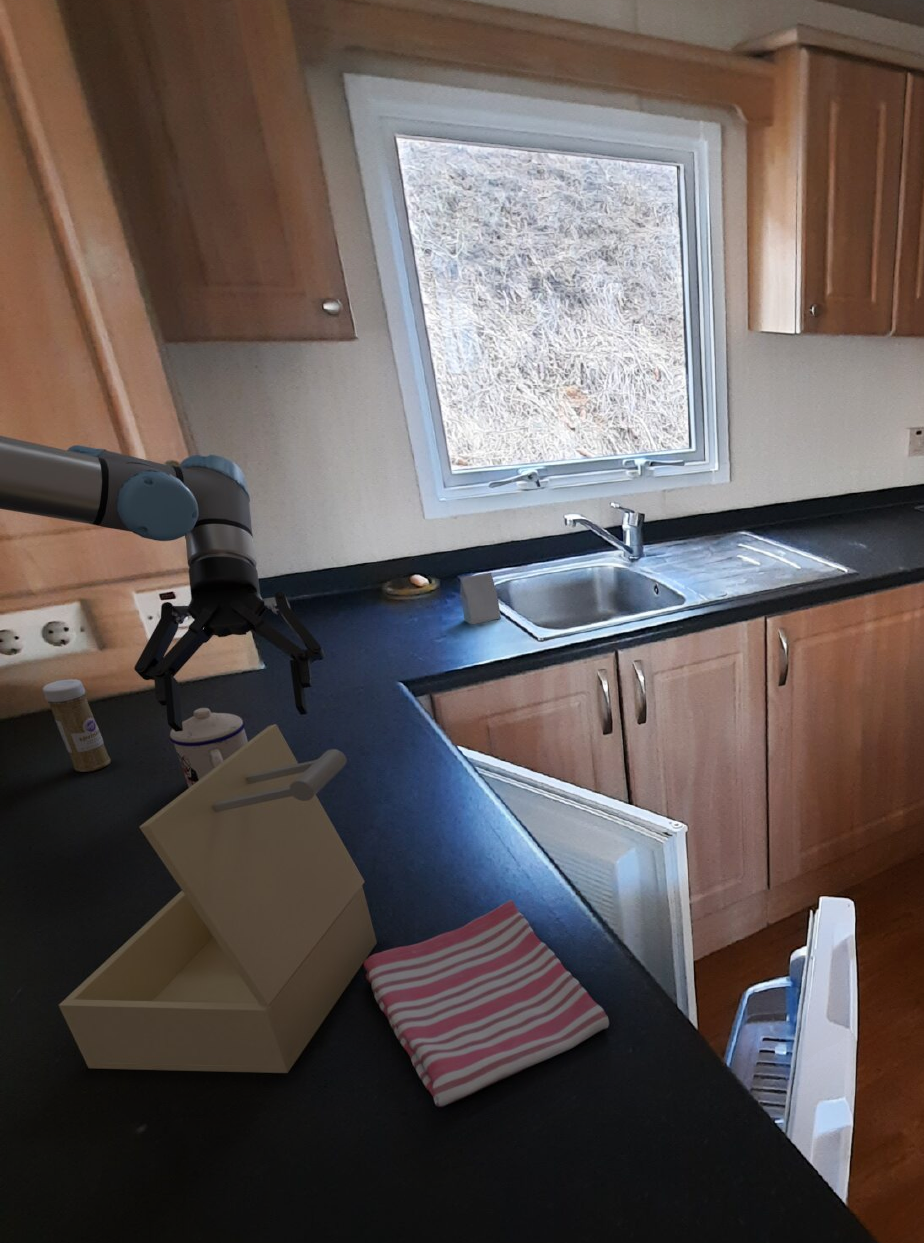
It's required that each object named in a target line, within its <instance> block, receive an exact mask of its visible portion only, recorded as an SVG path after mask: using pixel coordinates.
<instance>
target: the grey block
mask: <svg viewBox="0 0 924 1243" xmlns="http://www.w3.org/2000/svg"><path fill="white" fill-rule="evenodd" d="M459 579H460V586H459V587H460V590H459V592H460V593H459V594H460V596H459V597H460V602H461V607H462V608H461V609H462V614H463V619H464V622H465V623H468V624H469V625H477V624H481V623H486V622H491V621H495V620H496V621H497V620H500V619H501V618H502V616H501V610H500V602H499V596H498V591H497V588H496V585H495V581H494V578H493V575H492V572H487V573H486V572H485V573H480V574H475V575H469V576H463V577H460V578H459Z"/></svg>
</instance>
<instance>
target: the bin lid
mask: <svg viewBox="0 0 924 1243" xmlns="http://www.w3.org/2000/svg"><path fill="white" fill-rule="evenodd" d="M347 761H348V760H347V757H346V755H345V753H344V752H342V751H340V750H339V749H335V748H330V749H327V750H326V751H325V752H324V753H322V755H320V757H318V758H317V759H313V760H309V761H305V762H300V763H298V760H297V758H296V757H295V755H294V753H293V751H292V750H291V748H290V746H289V744H288V742H287V741H286V739H285V737H284V735H283V734H282V732H281V730H280V728H279V727H278V725H277V724H275V723H273V724H270V725H268V726H266V728H264V729H263V730H262V731H260V732H259V733H257V734H256V735H255V736H254V737H252V738H251V739H250V740H248V743H246V744H245V745H244V746H242V747H241V748H240V749H239V750H237V751H236V752H235V753H233V754H232V755H231V756H230V757H228V758H227V759H226V760H224V761H223V762H222V763H221V764H219V765H218V766H217V767H215V768H214V769H213V770H212V771H210V772H209V773H208V774H206V775H205V776H204V777H203V778H201V779H200V780H199V781H197V782H196V783H195V784H194V785H192V786H191V787H190V788H189V787H188V788H187V789H186V790H185V791H184V792H182V793H181V794H179V795H178V796H177V797H175V798H174V799H173V800H172V801H170V802H169V803H168V804H166V805H165V806H164V807H162V808H161V809H160V810H159V811H157V812H156V813H155V814H154V815H152V816H151V817H150V818H149V819H147V820H146V821H145V822H143V823H142V824H141V825H140V826H139V829H140V831H141V832H142V834H143V835H144V836H145V839H147V841H148V843H149V844H150V845H151V848H153V850H154V851H155V853H156V854H157V856H158V858H159V859H160V860H161V862H162V863H163V864H164V867H165V868H166V869H167V871H168V872H169V873H170V875H171V877H172V878H173V879H174V881H175V882H176V884H177V885H178V887H179V888H180V890H181V891H183V892H184V894H185V895H186V897H187V898H188V900H189V901H190V903H191V904H192V906H193V907H194V909H195V910H196V912H197V913H198V914H199V916H200V917H201V919H202V920H203V922H204V923H205V925H206V926H207V928H208V929H209V931H210V932H211V934H212V935H213V937H214V938H215V940H216V941H217V942H218V944H219V945H220V947H221V948H222V950H223V951H224V953H225V954H226V956H227V957H228V959H229V960H230V962H231V963H232V965H233V966H234V967H235V969H236V970H237V972H238V973H239V975H240V976H241V978H242V979H243V981H244V982H245V984H246V985H247V987H248V988H249V990H250V991H251V993H252V994H253V995H254V997H255V998H256V1000H257V1001H258V1003H259V1004H260V1006H261V1007H262V1006H268V1005H269V1004H270V1003H271V1002H272V1000H273V999H274V998H275V997H276V995H277V994H278V993H279V991H280V990H281V989H282V988H283V986H284V985H285V984H286V982H287V981H288V980H289V979H290V977H291V976H292V975H293V973H294V972H295V971H296V970H297V968H298V967H299V966H300V964H301V963H302V962H303V961H304V959H305V958H306V957H307V955H308V954H309V953H310V952H311V950H312V949H313V948H314V946H315V945H316V944H317V943H318V941H319V940H320V939H321V937H322V936H323V935H324V934H325V932H326V931H327V930H328V929H329V927H330V926H331V925H332V923H333V922H334V921H335V920H336V918H337V917H338V916H339V914H340V913H341V912H342V911H343V909H344V908H345V907H346V905H347V904H348V903H349V902H350V900H351V899H352V898H353V896H354V895H355V894H356V893H357V891H358V890H359V889H360V887H361V886H362V887H363V885H364V883H365V880H364V878H363V876H362V874H361V873H360V871H359V868H358V867H357V865H356V864H355V862H354V860H353V858H352V857H351V855H350V852H349V851H348V849H347V848H346V846H345V844H344V842H343V841H342V838H341V837H340V835H339V833H338V832H337V830H336V828H335V826H334V825H333V822H332V821H331V819H330V817H329V815H328V814H327V812H326V811H325V808H324V807H323V805H322V804H321V801H320V800H319V798H318V796H317V794H318V793H319V792H320V791H321V790H322V789H323V788H324V787H325V786H326V785H327V784H328V783H329V782H330V781H331V780H332V779H333V778H334V777H335V776H336V775H337V774H338V773H339V772H340V771H342V769H343V768H344V767H346V764H347Z"/></svg>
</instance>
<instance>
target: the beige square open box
mask: <svg viewBox="0 0 924 1243" xmlns="http://www.w3.org/2000/svg"><path fill="white" fill-rule="evenodd" d="M368 906H369V905H368V902H367V899H366V894H365V890H364V886H363V885H362V886H361V887H360V889H359V890H358V891H357V893H356V894H355V895H354V896H353V898H352V899H351V900H350V902H349V903H348V904H347V905H346V907H345V908H344V909H343V911H342V912H341V913H340V914H339V916H338V917H337V918H336V920H335V921H334V922H333V923H332V925H331V926H330V927H329V929H328V930H327V931H326V932H325V934H324V935H323V936H322V937H321V939H320V940H319V941H318V943H317V944H316V945H315V946H314V948H313V949H312V950H311V952H310V953H309V954H308V955H307V957H306V958H305V959H304V961H303V962H302V963H301V964H300V966H299V967H298V968H297V970H296V971H295V972H294V973H293V975H292V976H291V977H290V979H289V980H288V981H287V982H286V984H285V985H284V986H283V988H282V989H281V990H280V991H279V993H278V994H277V995H276V997H275V998H274V999H273V1000H272V1002H271V1003H270V1004H269V1005H268V1006H262V1007H261V1006H260V1004H259V1003H258V1001H257V1000H256V998H255V997H254V995H253V994H252V993H251V991H250V990H249V988H248V987H247V985H246V984H245V982H244V981H243V979H242V978H241V976H240V975H239V973H238V972H237V970H236V969H235V967H234V966H233V965H232V963H231V962H230V960H229V959H228V957H227V956H226V954H225V953H224V951H223V950H222V948H221V947H220V945H219V944H218V942H217V941H216V940H215V938H214V937H213V935H212V934H211V932H210V931H209V929H208V928H207V926H206V925H205V923H204V922H203V920H202V919H201V917H200V916H199V914H198V913H197V912H196V910H195V909H194V907H193V906H192V904H191V903H190V901H189V900H188V898H187V897H186V895H185V894H184V892H183V891H182V890H180V891H179V892H178V893H177V894H176V895H175V896H174V897H173V898H172V899H171V900H170V901H169V902H168V903H167V904H165V905H164V906H163V907H162V908H161V909H160V910H159V911H157V913H156V914H155V915H154V916H153V917H152V918H150V919H149V920H148V921H147V922H145V924H144V925H143V926H142V927H141V928H140V929H139V930H137V931H136V932H135V933H134V934H133V935H132V936H131V937H130V938H128V940H127V941H125V943H123V945H122V946H120V947H119V948H118V949H117V950H116V951H115V952H114V953H113V954H112V955H111V956H110V957H108V958H107V959H106V960H105V961H104V962H103V963H102V964H101V965H100V966H99V967H98V968H96V970H94V971H93V972H92V973H91V974H90V975H89V976H88V977H87V978H86V979H85V980H84V981H83V982H81V984H79V985H78V986H77V987H76V988H75V989H74V990H73V991H72V992H70V994H69V995H68V996H66V998H65V999H63V1000H62V1001H61V1002H60V1003H59V1004H58V1008H59V1009H60V1012H61V1013H62V1016H63V1017H64V1018H63V1019H64V1021H65V1022H66V1024H67V1026H68V1028H69V1031H70V1032H71V1034H72V1036H73V1039H74V1041H75V1043H76V1045H77V1048H78V1049H79V1051H80V1053H81V1056H82V1057H83V1060H84V1062H85V1064H86V1066H87V1068H88V1069H94V1070H95V1069H97V1070H98V1069H99V1070H100V1069H101V1070H103V1069H104V1070H105V1069H106V1070H137V1071H139V1070H143V1071H144V1070H145V1071H177V1072H178V1071H179V1072H182V1071H183V1072H185V1071H186V1072H222V1073H223V1072H225V1073H226V1072H227V1073H261V1074H262V1073H264V1074H265V1073H267V1074H269V1073H270V1074H288V1073H289V1072H290V1070H291V1069H292V1067H293V1066H294V1064H295V1063H296V1062H297V1060H298V1059H299V1058H300V1056H301V1054H302V1053H303V1051H304V1050H305V1049H306V1047H307V1046H308V1044H309V1043H310V1041H311V1040H312V1038H313V1037H314V1036H315V1034H316V1032H318V1030H319V1028H320V1027H321V1025H322V1024H323V1022H324V1021H325V1020H326V1017H328V1015H329V1014H330V1013H331V1010H332V1009H333V1008H334V1006H335V1005H336V1003H337V1002H338V1001H339V999H340V998H341V996H342V995H343V993H344V992H345V990H346V989H347V988H348V986H349V985H350V984H351V981H352V980H353V979H354V977H355V976H356V974H357V973H358V972H359V970H360V968H361V967H362V965H364V964H363V963H364V961H365V960H367V959H368V958H369V955H370V954H371V952H372V951H373V949H374V948H375V946H376V945H377V943H378V941H377V938H376V933H375V930H374V926H373V922H372V918H371V915H370V910H369V907H368Z"/></svg>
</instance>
